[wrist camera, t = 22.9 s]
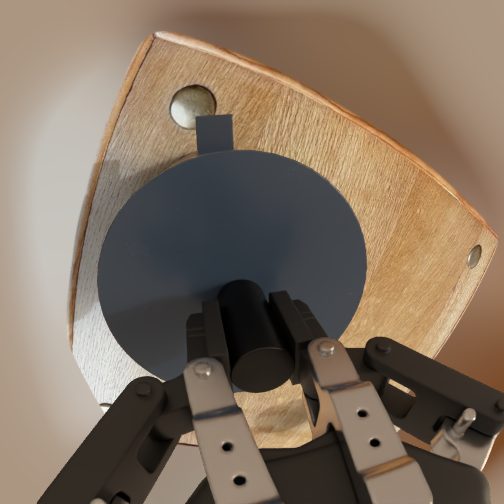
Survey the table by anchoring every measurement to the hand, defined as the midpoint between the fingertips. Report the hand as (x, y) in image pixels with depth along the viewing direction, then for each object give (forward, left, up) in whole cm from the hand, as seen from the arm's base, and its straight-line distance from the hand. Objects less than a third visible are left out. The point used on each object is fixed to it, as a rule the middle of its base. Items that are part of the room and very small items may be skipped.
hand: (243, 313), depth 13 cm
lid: (0, 0, -2) cm, 2 cm away
